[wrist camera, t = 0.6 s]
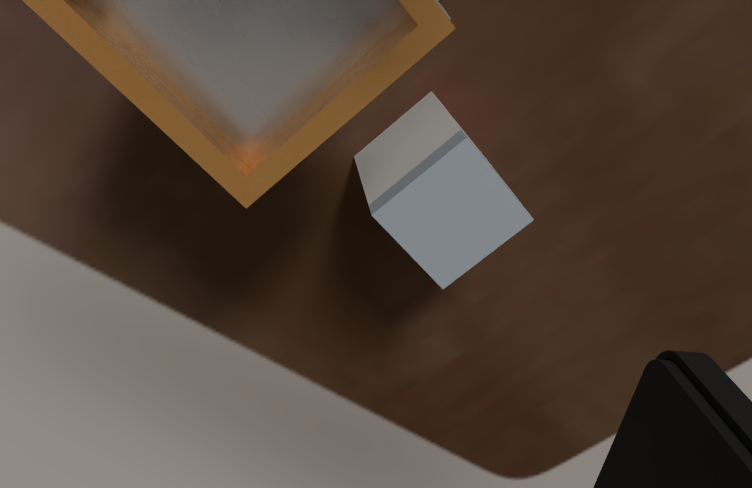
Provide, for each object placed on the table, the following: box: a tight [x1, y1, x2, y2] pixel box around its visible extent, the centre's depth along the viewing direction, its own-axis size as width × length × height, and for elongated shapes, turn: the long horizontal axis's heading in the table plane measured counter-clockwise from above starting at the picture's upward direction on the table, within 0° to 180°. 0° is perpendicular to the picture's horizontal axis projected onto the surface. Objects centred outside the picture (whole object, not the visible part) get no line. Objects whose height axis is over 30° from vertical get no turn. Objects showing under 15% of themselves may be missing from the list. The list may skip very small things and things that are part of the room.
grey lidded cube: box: [354, 91, 534, 289], centre depth 32 cm, size 5×5×7 cm
